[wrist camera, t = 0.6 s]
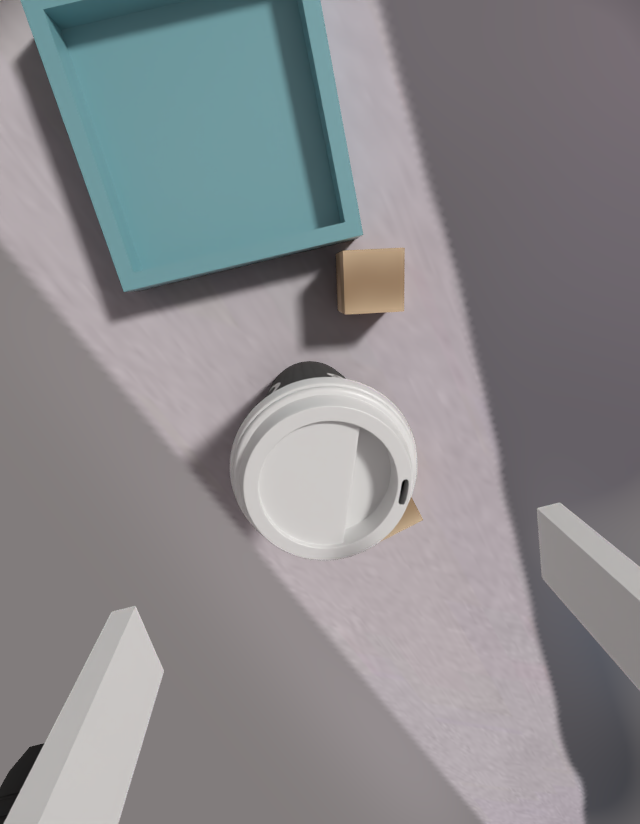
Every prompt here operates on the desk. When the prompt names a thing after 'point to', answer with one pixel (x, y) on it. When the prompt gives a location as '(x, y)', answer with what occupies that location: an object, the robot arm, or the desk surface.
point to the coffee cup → (323, 464)
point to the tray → (201, 129)
